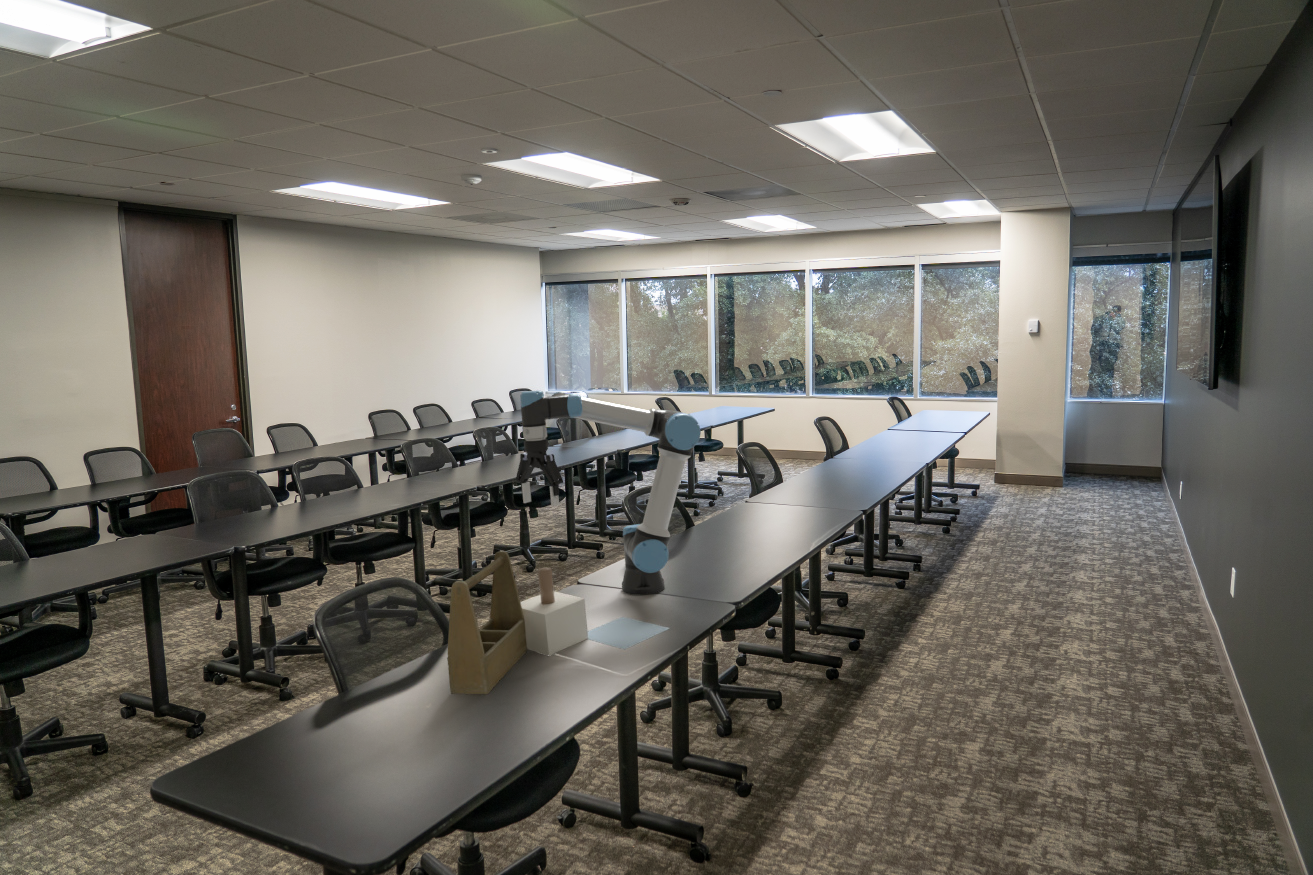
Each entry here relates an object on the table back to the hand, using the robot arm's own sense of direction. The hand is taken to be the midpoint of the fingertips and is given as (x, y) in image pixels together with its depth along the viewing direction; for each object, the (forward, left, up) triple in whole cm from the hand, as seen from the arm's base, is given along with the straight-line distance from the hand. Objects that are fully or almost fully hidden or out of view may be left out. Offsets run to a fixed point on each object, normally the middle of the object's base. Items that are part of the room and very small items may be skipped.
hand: (541, 504), depth 269 cm
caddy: (+42, +23, -37) cm, 60 cm away
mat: (+1, +34, -37) cm, 50 cm away
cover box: (+18, +21, -36) cm, 46 cm away
